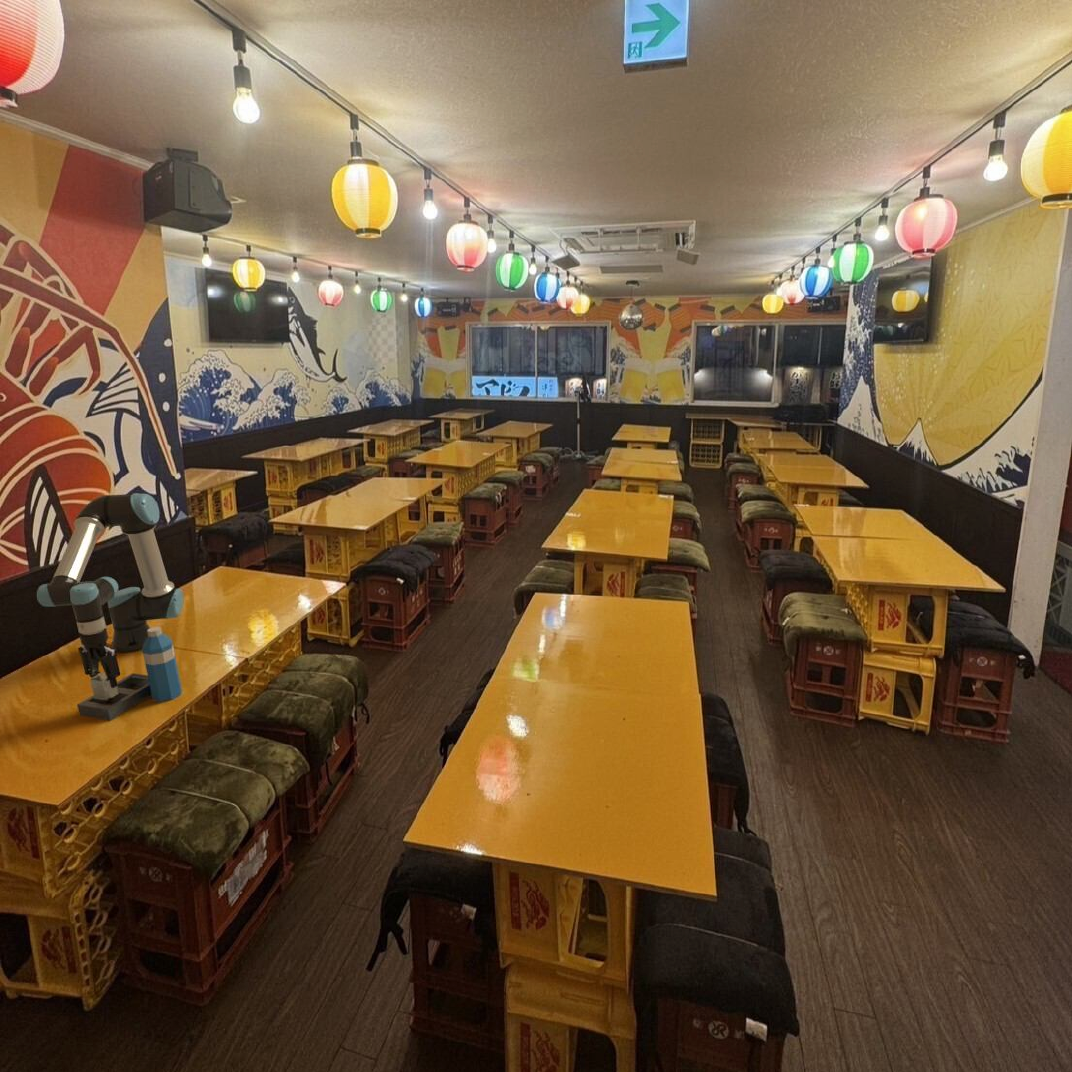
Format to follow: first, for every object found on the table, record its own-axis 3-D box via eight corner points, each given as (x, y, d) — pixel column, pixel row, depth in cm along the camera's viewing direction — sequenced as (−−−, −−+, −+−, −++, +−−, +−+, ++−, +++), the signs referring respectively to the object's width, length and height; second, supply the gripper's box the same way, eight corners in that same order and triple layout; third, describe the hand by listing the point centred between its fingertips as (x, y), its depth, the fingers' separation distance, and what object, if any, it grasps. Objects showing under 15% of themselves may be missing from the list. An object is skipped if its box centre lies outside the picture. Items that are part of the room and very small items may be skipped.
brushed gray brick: (107, 691, 229) (103, 672, 227) (119, 693, 227) (115, 674, 225) (94, 698, 224) (90, 679, 222) (106, 700, 223) (102, 681, 221)
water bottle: (177, 685, 241) (164, 621, 234) (186, 694, 235) (173, 628, 228) (148, 695, 235) (134, 629, 228) (157, 705, 229) (143, 637, 221)
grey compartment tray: (134, 683, 244) (132, 673, 243) (163, 687, 240) (161, 677, 239) (79, 715, 224) (77, 704, 223) (110, 720, 220) (108, 709, 219)
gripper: (60, 632, 218) (76, 696, 225) (104, 638, 213) (119, 703, 220) (81, 623, 225) (96, 686, 232) (124, 628, 220) (138, 692, 227)
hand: (107, 694), depth 226 cm, fingers closed on brushed gray brick, 5 cm apart
